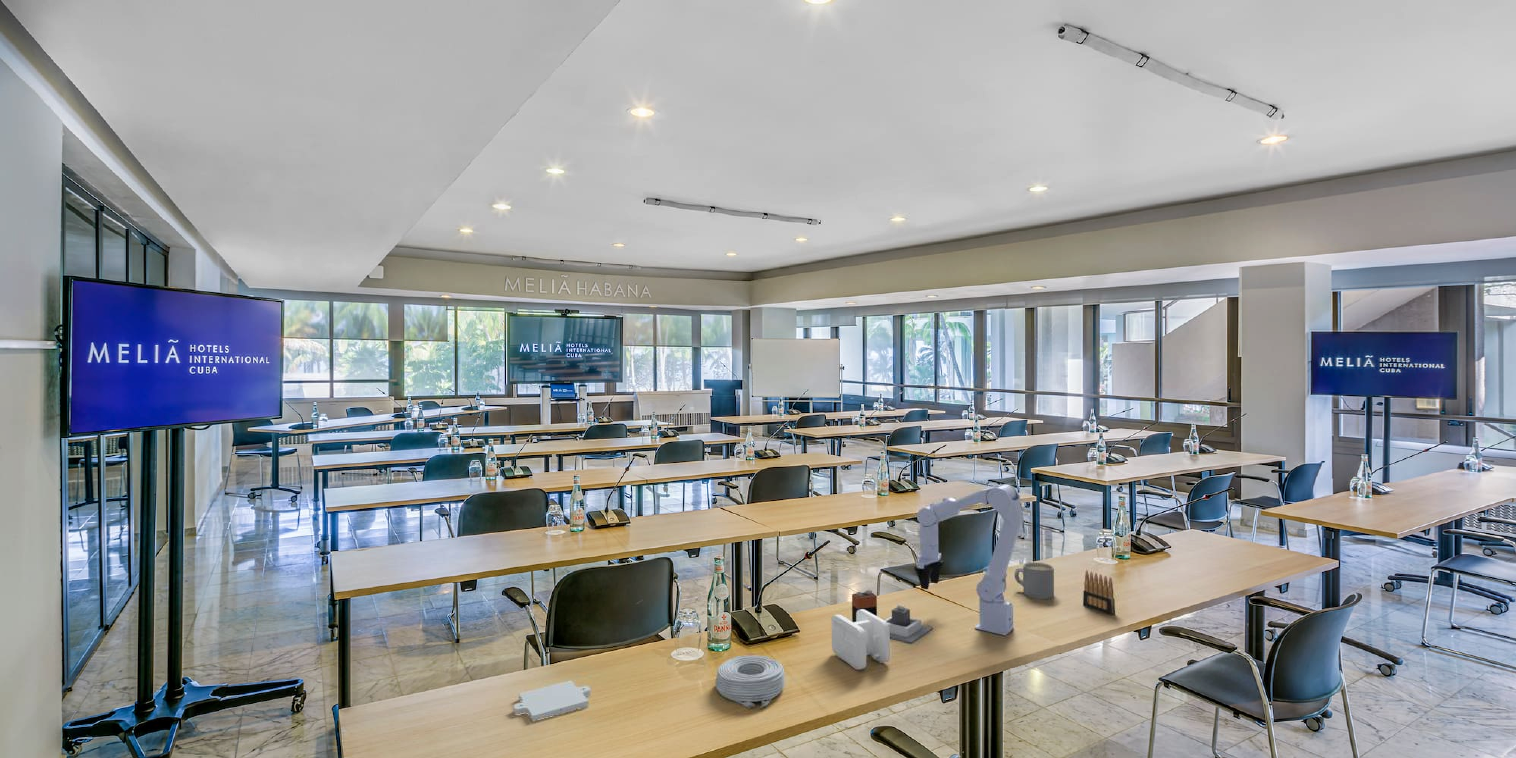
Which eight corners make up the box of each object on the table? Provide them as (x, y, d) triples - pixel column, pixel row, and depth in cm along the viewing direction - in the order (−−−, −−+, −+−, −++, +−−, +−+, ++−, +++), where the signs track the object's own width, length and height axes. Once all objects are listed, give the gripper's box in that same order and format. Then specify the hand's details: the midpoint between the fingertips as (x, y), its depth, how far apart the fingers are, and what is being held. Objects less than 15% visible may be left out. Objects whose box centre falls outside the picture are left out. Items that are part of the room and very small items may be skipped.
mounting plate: (521, 727, 154) (521, 718, 154) (508, 704, 165) (507, 696, 164) (598, 705, 163) (598, 697, 163) (581, 685, 174) (581, 677, 174)
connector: (910, 628, 208) (909, 605, 208) (904, 632, 205) (903, 608, 205) (898, 626, 210) (897, 602, 210) (891, 629, 207) (891, 606, 207)
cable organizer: (892, 667, 182) (892, 623, 182) (859, 675, 178) (858, 630, 178) (861, 647, 196) (860, 606, 196) (829, 654, 191) (829, 612, 191)
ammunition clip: (1082, 605, 229) (1082, 569, 229) (1086, 604, 230) (1086, 569, 230) (1111, 615, 219) (1111, 578, 219) (1115, 614, 220) (1115, 577, 220)
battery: (877, 624, 213) (877, 592, 213) (858, 627, 211) (857, 595, 211) (870, 619, 217) (870, 588, 217) (851, 622, 215) (851, 590, 215)
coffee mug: (1059, 595, 239) (1059, 567, 239) (1042, 600, 234) (1042, 571, 234) (1026, 585, 250) (1026, 558, 250) (1009, 590, 245) (1009, 563, 245)
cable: (761, 713, 158) (761, 687, 158) (700, 695, 168) (700, 671, 168) (797, 684, 173) (797, 660, 173) (740, 669, 182) (739, 646, 182)
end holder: (932, 629, 209) (932, 619, 209) (911, 643, 198) (911, 633, 198) (891, 619, 217) (890, 610, 217) (869, 632, 206) (869, 622, 206)
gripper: (927, 537, 230) (927, 578, 230) (907, 546, 218) (908, 589, 218) (947, 540, 225) (947, 581, 225) (928, 549, 214) (929, 593, 214)
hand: (929, 585), depth 221 cm, fingers open, 7 cm apart
